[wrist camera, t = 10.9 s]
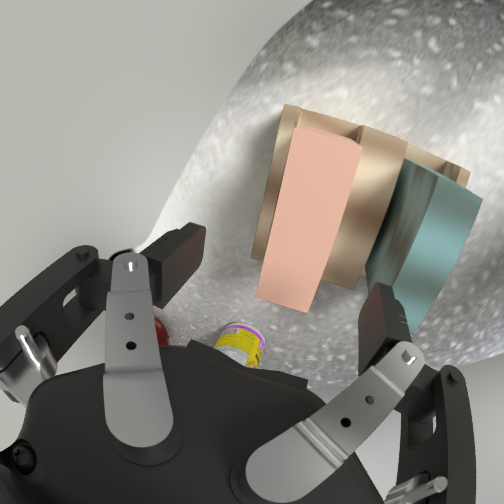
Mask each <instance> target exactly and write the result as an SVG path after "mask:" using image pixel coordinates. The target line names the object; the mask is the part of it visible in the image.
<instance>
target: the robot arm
mask: <svg viewBox="0 0 504 504" xmlns="http://www.w3.org/2000/svg"><path fill="white" fill-rule="evenodd" d="M205 235H206V228H205V227H204V226H201V225H198V224H195V223H192V222H189V223H188V224H186V225H185V226H184V227H182V228H181V229H180V230H179V229H175V230H172V231H168V232H166V233H165V234H164V235H162V236H161V238H158V239H157V240H156V241H155V242H153V243H152V244H151V245H149V246H148V247H147V248H145V249H144V250H143V251H141V252H140V253H124V254H121V255H119V256H117V257H116V258H115V259H114V261H111V260H105V259H99V256H98V250H97V249H96V248H95V247H93V246H89V245H83V246H78V247H75V248H73V249H72V250H70V251H69V252H67V253H66V254H65V255H64V256H62V257H61V258H59V259H58V260H57V261H55V262H54V263H53V264H51V265H50V266H49V267H47V268H46V269H45V270H44V271H42V272H41V273H40V274H39V275H37V276H36V277H35V278H33V279H32V280H31V281H30V282H29V283H27V284H26V285H25V286H24V287H23V288H21V289H20V290H19V291H18V292H17V293H15V294H14V295H13V296H12V297H11V298H10V299H9V300H7V301H6V302H5V303H4V304H3V305H2V306H1V307H0V388H1V389H2V390H3V391H4V392H5V394H6V395H7V396H8V397H9V398H10V399H11V400H12V401H14V402H17V403H21V404H22V405H23V406H24V407H25V408H26V414H25V418H24V422H23V425H22V429H21V431H20V433H19V436H18V438H17V439H16V441H15V442H14V443H13V444H12V445H11V446H9V447H8V448H6V449H5V450H3V451H1V452H0V504H475V501H476V457H475V442H474V432H473V423H472V416H471V410H470V403H469V398H468V392H467V387H466V382H465V378H464V376H463V375H462V373H461V372H460V371H459V370H458V369H457V368H456V367H454V366H452V365H445V366H443V367H442V368H441V370H440V371H439V372H438V371H436V370H434V369H433V368H431V367H429V366H427V365H425V358H424V355H423V353H422V352H421V350H420V349H419V348H418V347H417V346H415V345H414V344H412V341H411V336H410V331H409V327H408V324H407V318H406V314H405V310H404V307H403V306H402V304H401V303H400V301H399V300H397V299H395V296H394V292H393V288H392V286H389V285H386V284H383V283H380V282H376V283H375V284H374V286H373V288H372V290H371V292H370V293H369V295H368V297H367V299H366V301H365V303H364V305H363V307H362V309H361V311H360V314H359V319H358V332H359V365H358V376H360V377H359V378H358V379H357V380H355V381H354V382H353V383H352V384H351V385H350V386H349V387H347V388H346V389H345V390H344V391H342V392H341V393H340V394H339V395H338V396H336V397H335V398H334V399H333V400H331V401H330V402H329V403H327V404H326V403H325V402H324V401H323V400H322V399H321V398H319V397H318V396H317V395H316V394H314V393H313V392H311V391H310V390H308V389H306V388H307V383H308V380H307V379H304V378H300V377H297V376H293V375H290V374H287V373H283V372H280V371H273V370H263V369H255V368H248V367H245V366H243V365H242V364H240V363H238V362H237V361H235V360H234V359H232V358H230V357H229V356H227V355H226V354H224V353H222V352H221V351H219V350H217V349H214V348H212V347H209V346H207V345H204V344H202V343H199V342H197V341H195V340H192V339H191V341H190V342H189V344H188V345H187V347H185V346H176V345H169V346H160V347H158V341H157V335H156V328H155V320H154V313H153V305H154V306H156V307H159V308H161V309H163V308H164V307H165V306H166V304H167V303H168V302H169V301H170V300H171V299H172V298H173V296H174V295H175V294H176V293H177V292H178V291H179V289H180V288H181V287H182V286H183V285H184V284H185V283H186V281H187V280H188V279H189V278H190V277H191V276H192V275H193V274H194V272H195V271H196V270H197V269H198V268H199V266H200V264H201V262H202V258H203V251H204V243H205ZM73 289H75V292H76V296H74V297H73V298H72V299H71V300H70V301H69V302H68V303H67V304H66V305H65V306H64V307H63V301H64V299H65V297H66V296H67V295H68V294H69V293H70V292H71V291H72V290H73ZM103 310H105V311H106V323H105V363H102V364H99V365H95V366H91V367H88V368H84V369H80V370H76V371H72V372H69V373H65V374H61V375H56V376H55V374H56V372H57V362H58V361H59V360H60V359H61V358H62V356H63V355H64V354H65V353H66V352H67V351H68V350H69V348H70V347H71V346H72V345H73V344H74V343H75V341H76V340H77V339H78V338H79V337H80V336H81V335H82V333H83V332H84V331H85V330H86V329H87V328H88V327H89V326H90V325H91V324H92V322H93V321H94V320H95V319H96V318H97V317H98V316H99V315H100V314H101V312H102V311H103ZM393 409H394V410H396V411H398V412H400V413H401V437H400V438H401V439H400V452H399V463H398V473H397V481H396V486H394V487H393V488H392V489H391V490H390V491H389V492H388V494H387V497H386V500H385V501H383V499H382V497H381V495H380V494H379V492H378V490H377V489H376V487H375V485H374V484H373V482H372V480H371V479H370V477H369V475H368V474H367V472H366V470H365V468H364V467H363V465H362V463H361V462H360V460H359V458H358V456H357V455H356V453H355V450H356V449H357V448H358V447H359V446H360V445H361V444H362V443H363V442H364V441H365V440H366V439H367V438H368V437H369V436H370V435H371V434H372V433H373V432H374V431H375V429H376V428H377V427H378V426H379V425H380V424H381V423H382V422H383V420H384V419H385V418H386V417H387V416H388V415H389V414H390V412H391V411H392V410H393ZM435 416H436V429H435V432H434V434H433V417H435Z"/></svg>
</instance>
